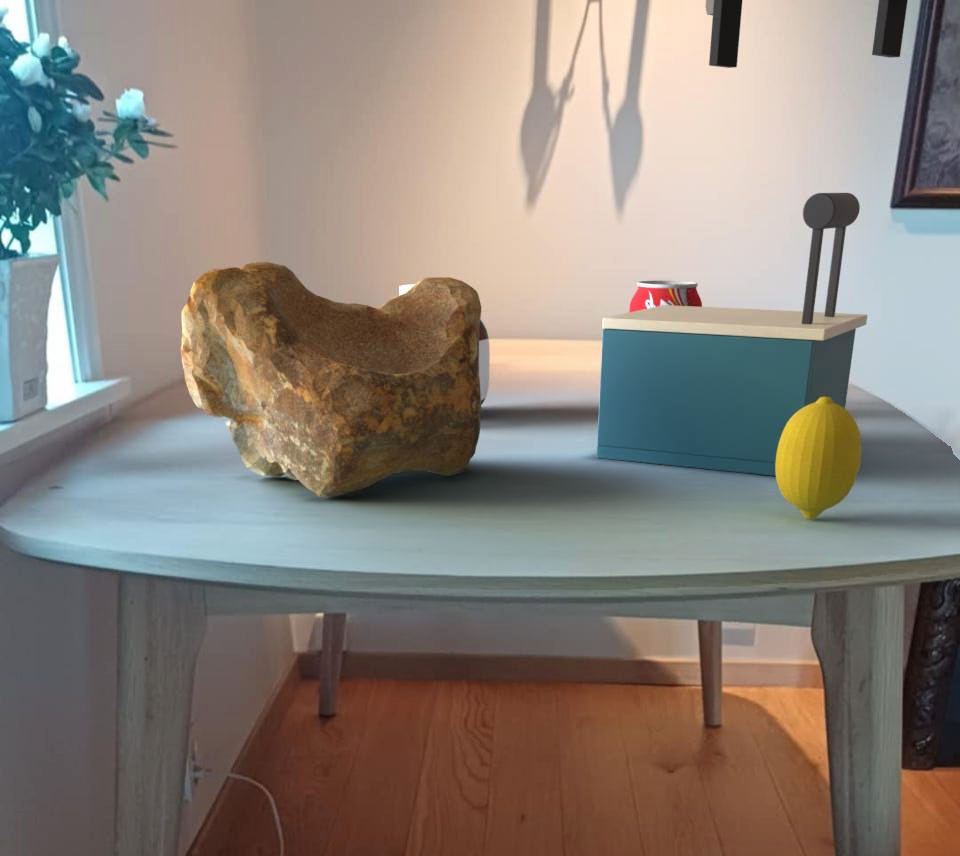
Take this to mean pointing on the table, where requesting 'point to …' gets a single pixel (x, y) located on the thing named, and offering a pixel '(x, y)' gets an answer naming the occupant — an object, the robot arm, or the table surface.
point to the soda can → (665, 294)
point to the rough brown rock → (335, 376)
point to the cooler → (711, 395)
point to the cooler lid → (770, 323)
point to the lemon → (818, 457)
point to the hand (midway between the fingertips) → (800, 62)
